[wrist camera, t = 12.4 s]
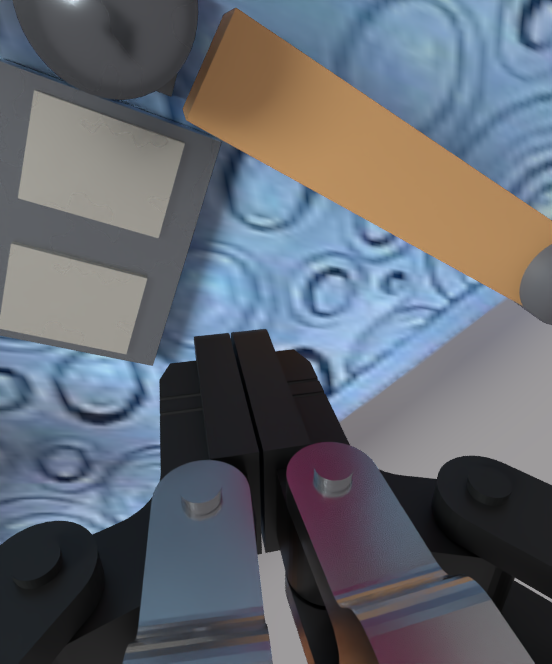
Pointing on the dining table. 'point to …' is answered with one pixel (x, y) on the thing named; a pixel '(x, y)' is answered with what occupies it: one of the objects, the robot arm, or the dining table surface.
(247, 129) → the swing bar
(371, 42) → the dining table surface
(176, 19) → the post
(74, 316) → the label plate
